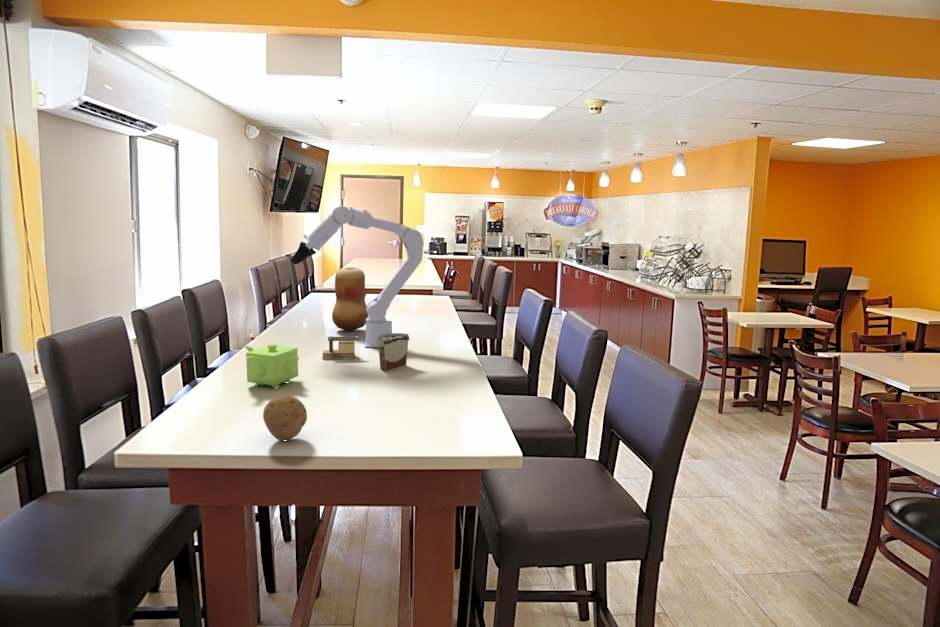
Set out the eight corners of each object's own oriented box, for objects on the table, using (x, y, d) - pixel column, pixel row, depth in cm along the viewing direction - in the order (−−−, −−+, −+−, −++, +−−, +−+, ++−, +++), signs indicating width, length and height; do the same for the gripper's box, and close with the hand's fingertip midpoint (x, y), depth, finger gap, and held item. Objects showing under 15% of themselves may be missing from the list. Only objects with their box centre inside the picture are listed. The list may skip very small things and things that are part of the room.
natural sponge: (280, 429, 143) (279, 387, 141) (315, 434, 140) (314, 391, 139) (255, 444, 134) (254, 399, 133) (292, 450, 132) (291, 403, 130)
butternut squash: (332, 335, 242) (331, 269, 237) (331, 328, 254) (330, 265, 250) (369, 334, 245) (369, 269, 240) (366, 327, 258) (366, 265, 253)
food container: (394, 361, 205) (394, 331, 203) (409, 364, 201) (409, 333, 200) (367, 369, 195) (367, 337, 193) (382, 372, 191) (382, 340, 190)
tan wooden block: (354, 349, 211) (354, 340, 211) (354, 353, 206) (354, 343, 206) (339, 349, 211) (339, 340, 210) (338, 353, 206) (338, 344, 205)
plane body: (355, 355, 212) (355, 339, 211) (354, 358, 207) (354, 342, 206) (323, 355, 210) (323, 339, 209) (322, 359, 205) (321, 343, 204)
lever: (359, 340, 209) (359, 335, 209) (359, 341, 208) (359, 336, 207) (328, 340, 208) (327, 335, 208) (327, 341, 206) (327, 337, 206)
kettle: (248, 394, 168) (246, 352, 166) (241, 380, 181) (239, 341, 179) (305, 387, 175) (304, 347, 173) (295, 374, 187) (293, 337, 185)
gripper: (315, 225, 222) (287, 253, 222) (312, 224, 208) (282, 254, 208) (330, 240, 224) (303, 267, 223) (328, 240, 209) (298, 269, 209)
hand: (294, 262), depth 215 cm, fingers open, 7 cm apart
